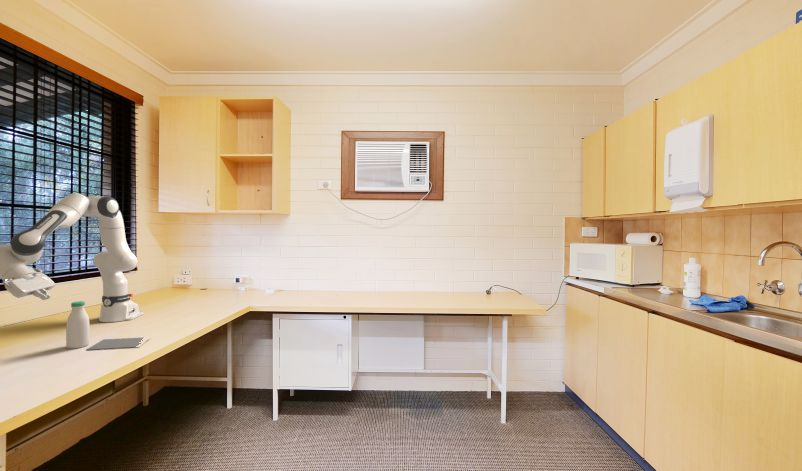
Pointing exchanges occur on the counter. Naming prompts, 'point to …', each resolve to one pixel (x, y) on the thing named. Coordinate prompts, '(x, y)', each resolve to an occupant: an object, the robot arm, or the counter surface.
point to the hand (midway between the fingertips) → (47, 298)
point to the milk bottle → (77, 326)
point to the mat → (116, 343)
